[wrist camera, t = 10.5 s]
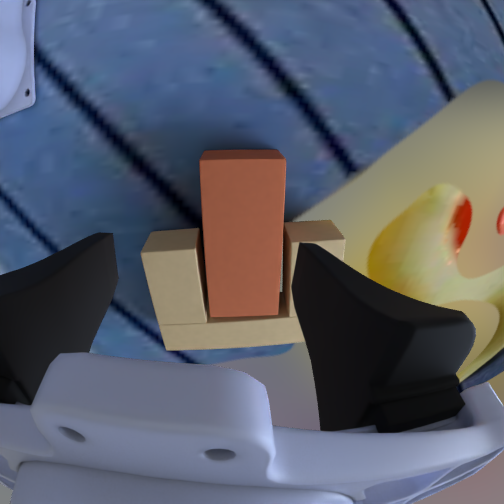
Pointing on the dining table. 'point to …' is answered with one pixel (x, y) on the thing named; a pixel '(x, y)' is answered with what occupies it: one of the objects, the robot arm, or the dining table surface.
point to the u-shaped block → (196, 293)
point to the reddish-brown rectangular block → (243, 230)
